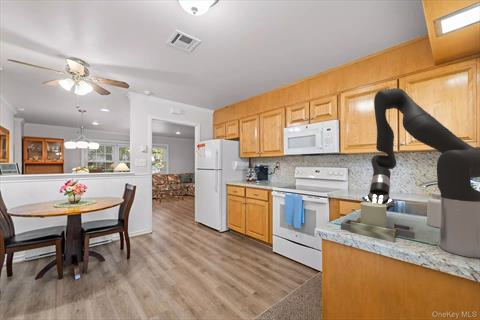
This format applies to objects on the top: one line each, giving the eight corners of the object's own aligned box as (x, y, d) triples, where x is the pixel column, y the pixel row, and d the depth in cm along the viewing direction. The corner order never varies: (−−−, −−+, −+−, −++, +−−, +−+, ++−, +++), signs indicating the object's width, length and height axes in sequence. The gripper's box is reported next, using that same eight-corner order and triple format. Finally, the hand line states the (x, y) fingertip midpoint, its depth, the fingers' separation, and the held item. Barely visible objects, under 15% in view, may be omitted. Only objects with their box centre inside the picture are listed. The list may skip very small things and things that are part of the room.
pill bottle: (453, 230, 87) (454, 195, 87) (428, 226, 92) (428, 193, 92) (449, 225, 94) (449, 193, 94) (425, 222, 99) (426, 191, 99)
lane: (397, 229, 87) (397, 220, 87) (394, 241, 74) (394, 230, 74) (359, 222, 96) (359, 214, 96) (350, 232, 84) (350, 222, 84)
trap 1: (355, 226, 91) (356, 220, 91) (351, 231, 85) (351, 225, 85) (346, 224, 94) (346, 218, 94) (340, 228, 87) (340, 223, 87)
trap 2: (413, 232, 84) (413, 226, 84) (413, 238, 77) (413, 232, 77) (397, 229, 87) (397, 224, 87) (396, 235, 81) (396, 228, 81)
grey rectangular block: (392, 236, 79) (392, 205, 79) (367, 235, 80) (368, 205, 80) (377, 228, 88) (377, 201, 88) (355, 228, 89) (356, 200, 89)
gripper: (362, 180, 99) (356, 209, 90) (397, 182, 90) (394, 215, 81) (364, 189, 103) (359, 219, 94) (397, 193, 94) (395, 225, 85)
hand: (375, 217), depth 88 cm, fingers closed
